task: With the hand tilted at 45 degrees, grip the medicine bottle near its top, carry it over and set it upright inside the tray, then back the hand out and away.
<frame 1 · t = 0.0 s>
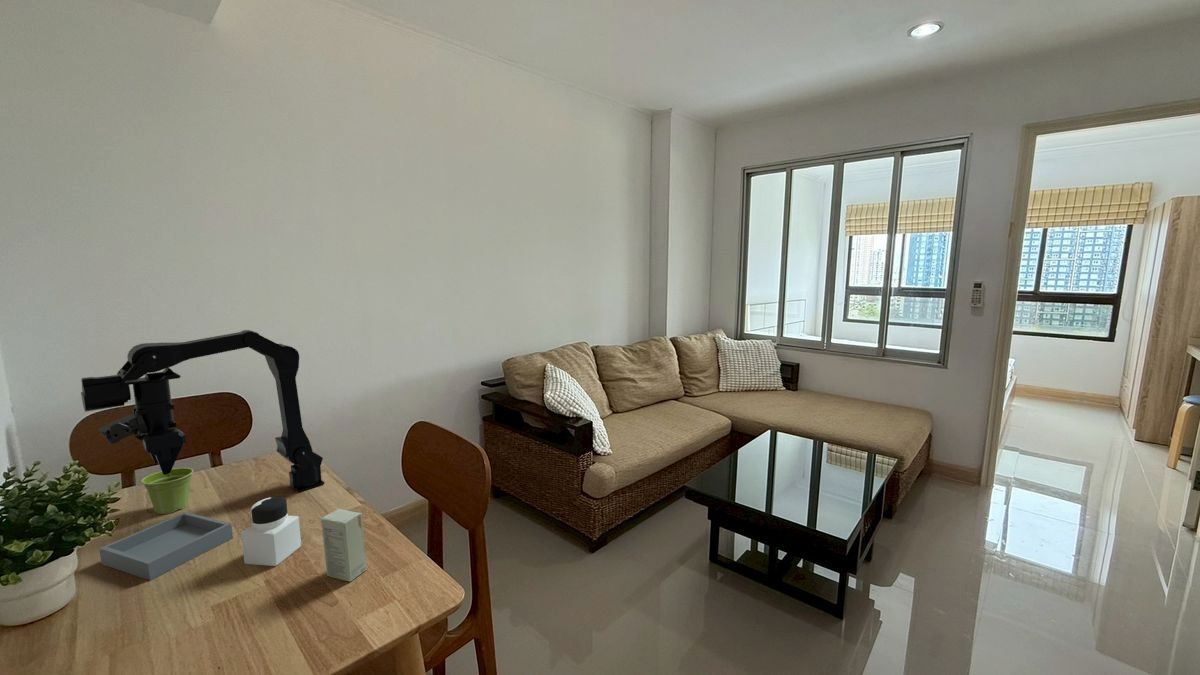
hand: (162, 468, 104), 15 cm above the table, tool pointing down, fingers open, 9 cm apart
skincare box: (346, 573, 92), on the table
plant pot: (172, 509, 115), on the table
medicine bottle: (273, 556, 97), on the table
tray: (170, 550, 98), on the table
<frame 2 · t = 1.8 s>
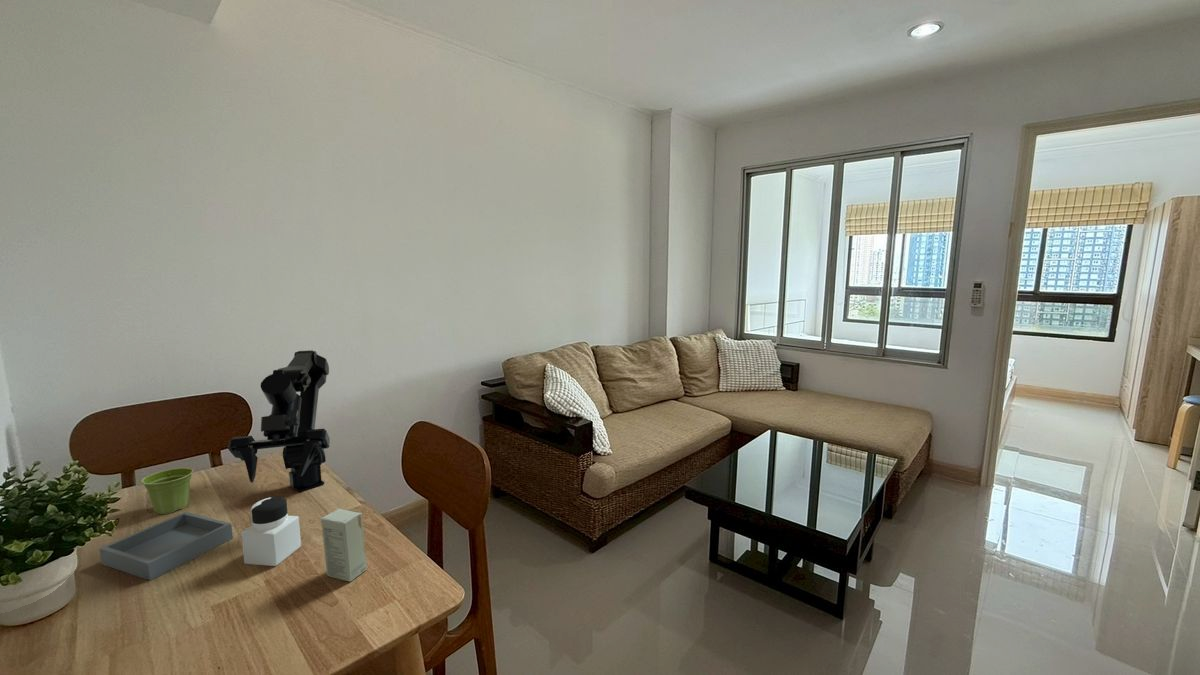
hand: (276, 478, 102), 13 cm above the table, tool tilted 45°, fingers open, 9 cm apart
nothing on the table moved.
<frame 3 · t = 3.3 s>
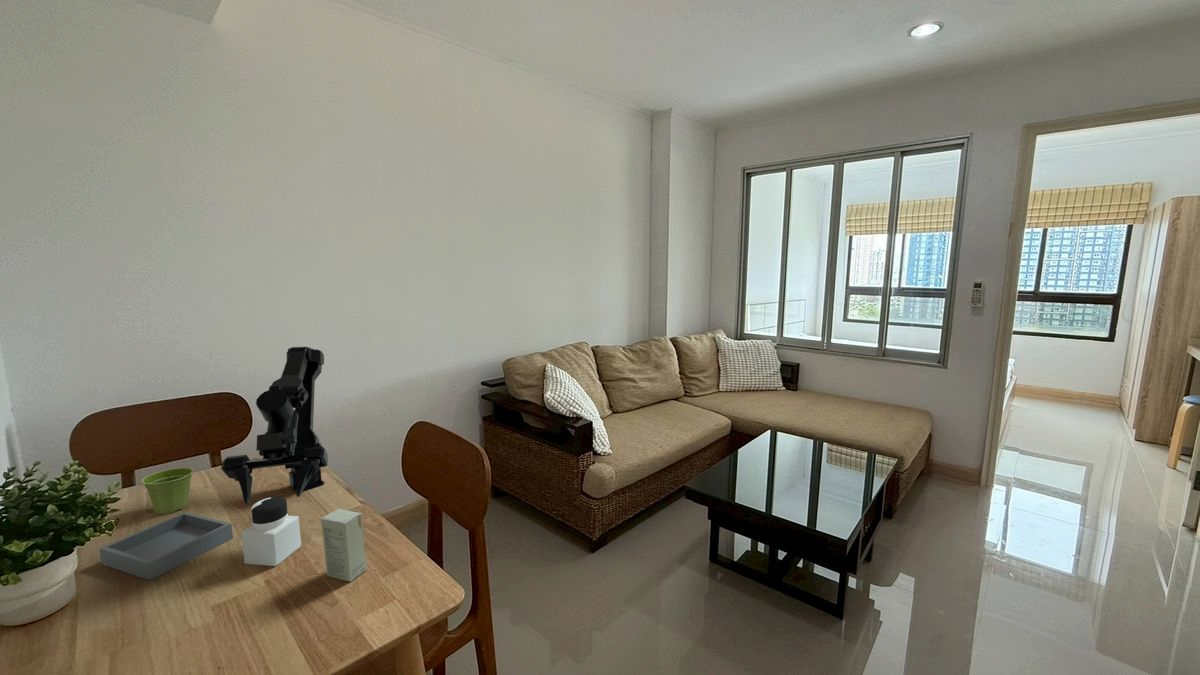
hand: (272, 499, 98), 11 cm above the table, tool tilted 45°, fingers open, 9 cm apart
nothing on the table moved.
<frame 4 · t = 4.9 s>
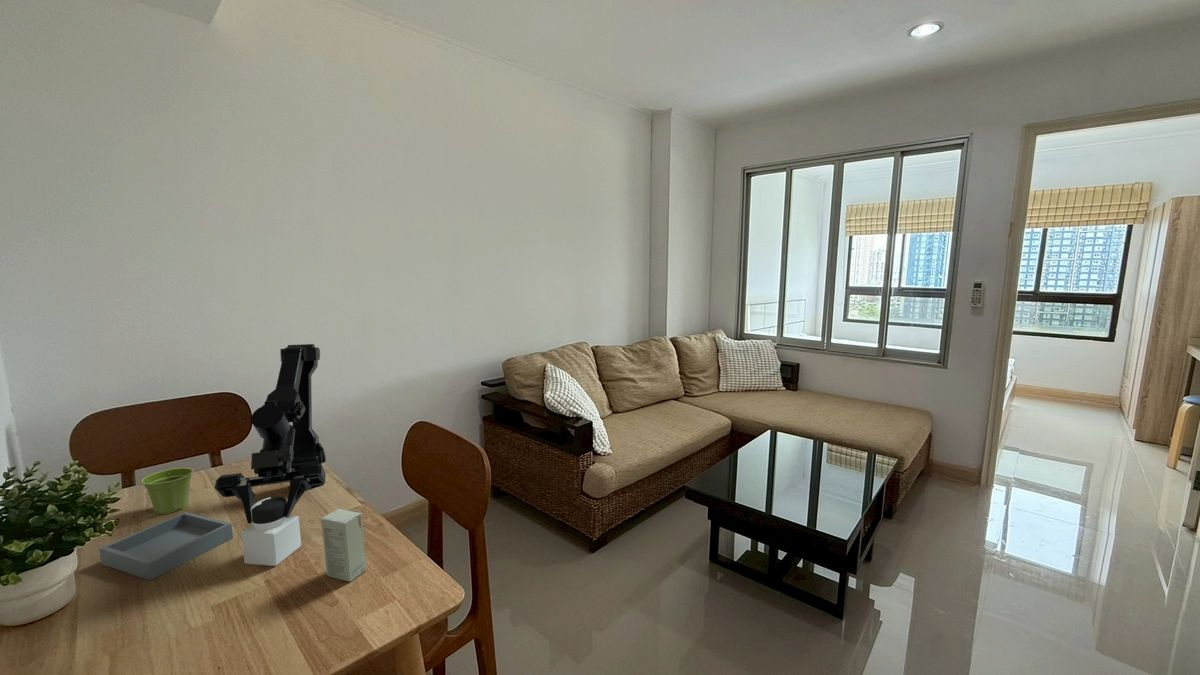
hand: (268, 520, 95), 9 cm above the table, tool tilted 45°, fingers closed on medicine bottle, 6 cm apart
medicine bottle: (273, 555, 97), on the table, touching gripper
everything else where it was.
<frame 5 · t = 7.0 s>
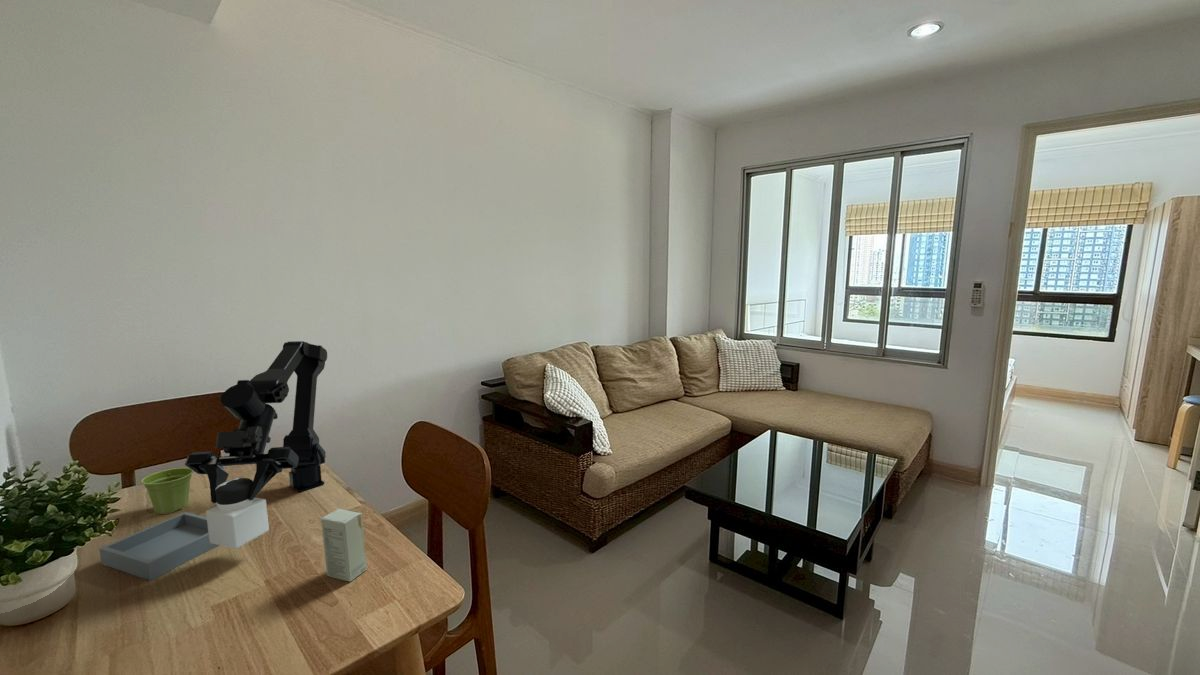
hand: (231, 501, 93), 13 cm above the table, tool tilted 45°, fingers closed on medicine bottle, 6 cm apart
medicine bottle: (240, 537, 95), point 4 cm above the table, touching gripper
everything else where it was.
when the fingers open (10 cm above the table, at t = 9.3 s): medicine bottle stays where it is, resting on tray.
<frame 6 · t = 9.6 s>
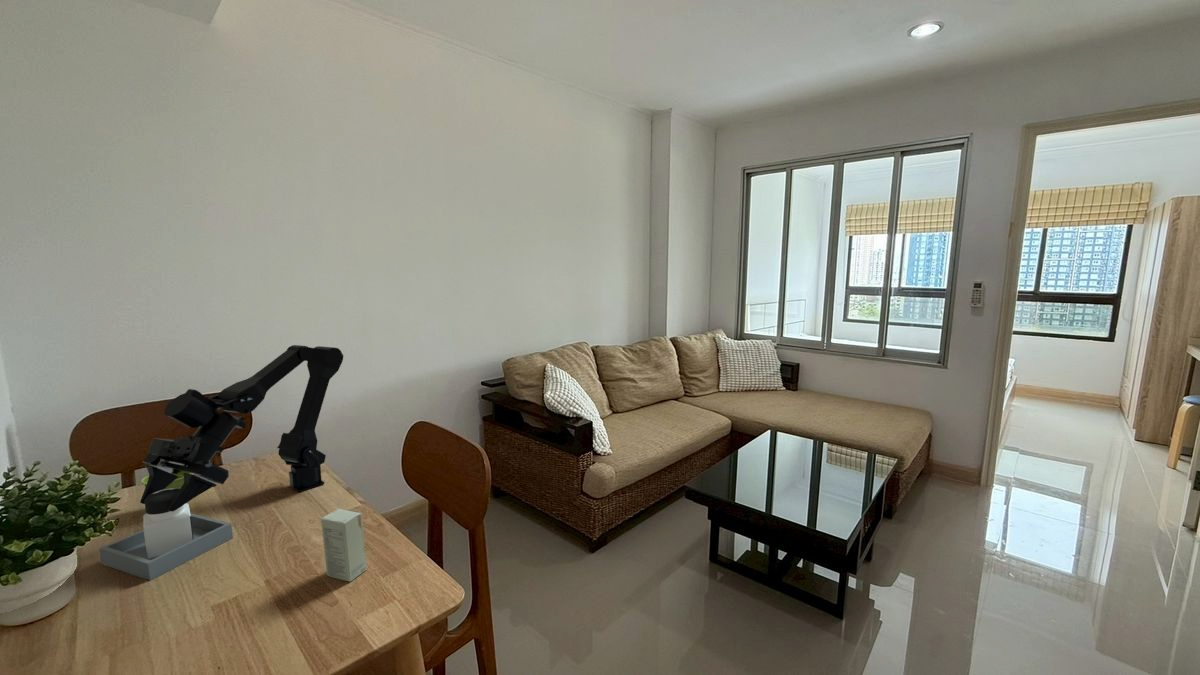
hand: (156, 507, 95), 11 cm above the table, tool tilted 45°, fingers open, 8 cm apart
medicine bottle: (171, 546, 98), point 1 cm above the table, touching tray
everything else where it was.
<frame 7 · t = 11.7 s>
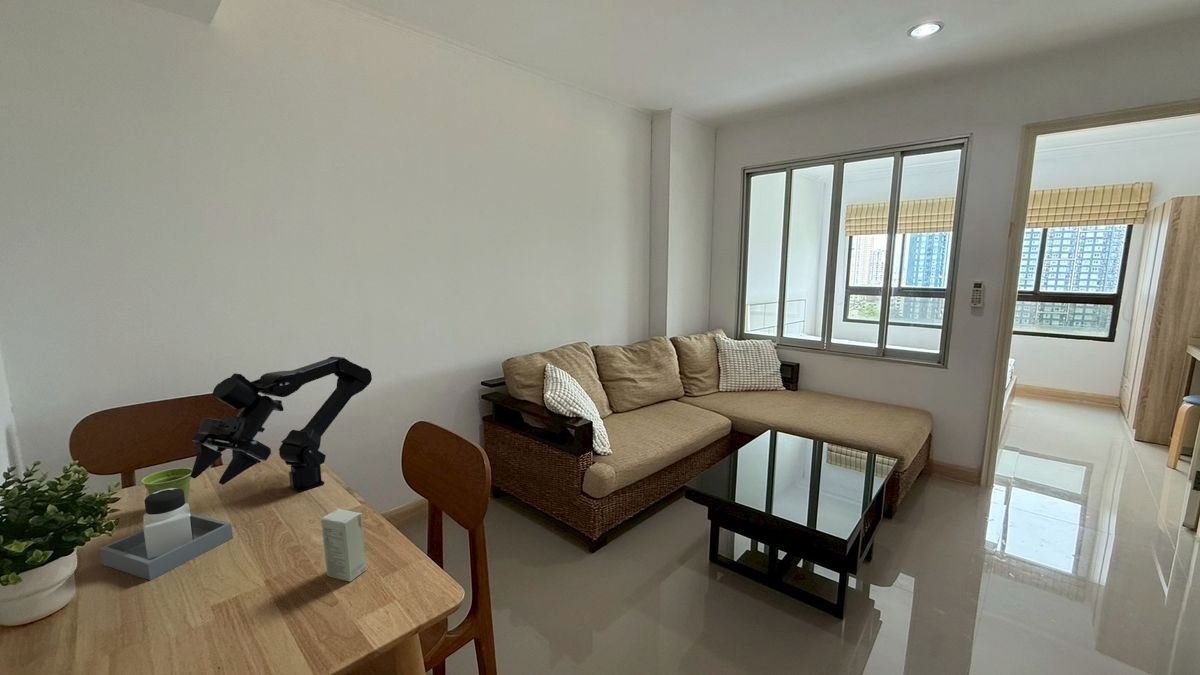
hand: (206, 480, 104), 12 cm above the table, tool tilted 45°, fingers open, 9 cm apart
nothing on the table moved.
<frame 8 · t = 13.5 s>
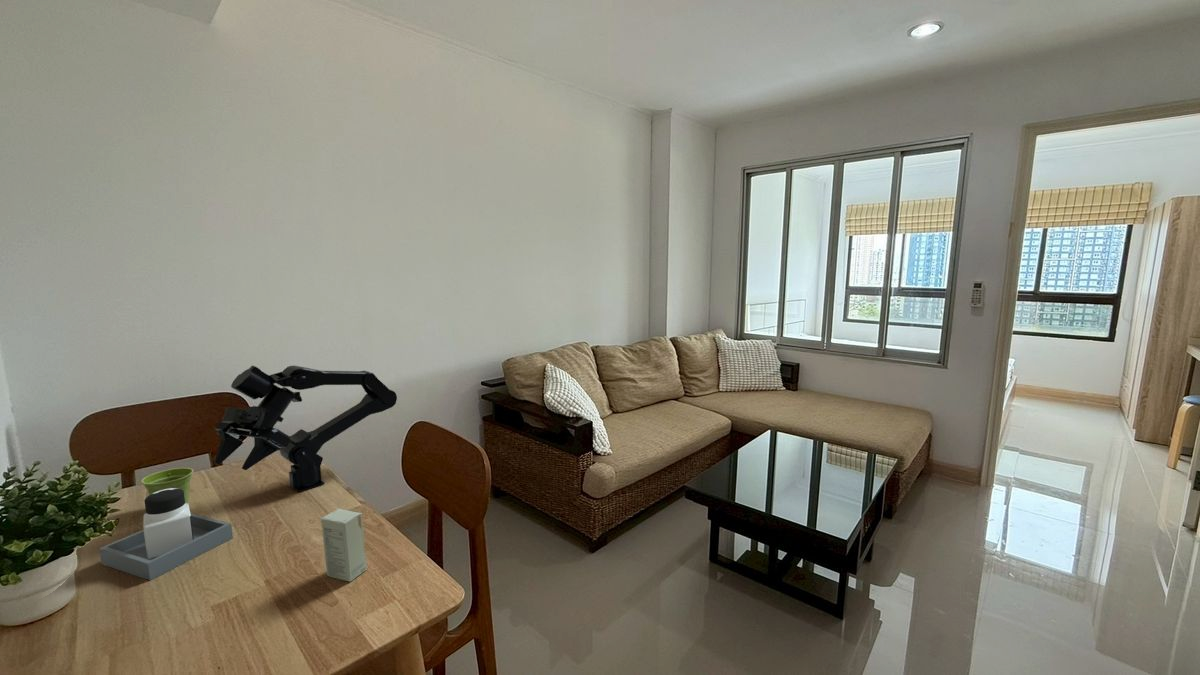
hand: (229, 466, 110), 13 cm above the table, tool tilted 45°, fingers open, 9 cm apart
nothing on the table moved.
at the end: medicine bottle inside the target area on the tray (0.2 cm from its centre), point 0.8 cm above the tray's base; medicine bottle tilted 0°; the gripper is holding nothing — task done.
